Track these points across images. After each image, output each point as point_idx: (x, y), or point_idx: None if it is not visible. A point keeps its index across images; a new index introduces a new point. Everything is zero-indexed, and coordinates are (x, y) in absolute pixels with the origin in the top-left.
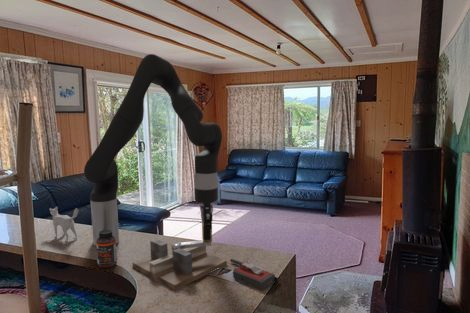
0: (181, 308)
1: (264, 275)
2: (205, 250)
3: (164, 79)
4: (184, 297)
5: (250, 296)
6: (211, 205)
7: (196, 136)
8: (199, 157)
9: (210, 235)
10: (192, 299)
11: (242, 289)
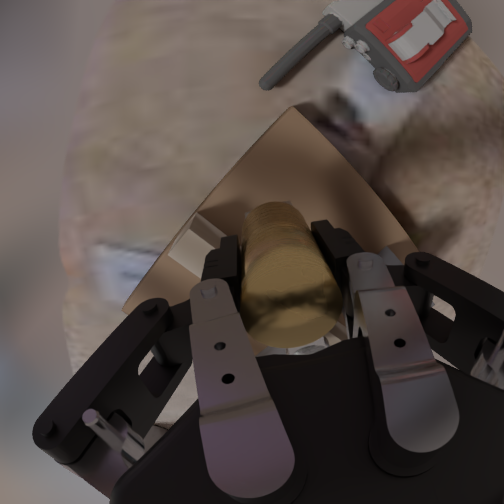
0: (490, 244)
1: (447, 5)
2: (197, 218)
3: None
4: (463, 244)
5: (483, 74)
6: (290, 485)
7: None
8: None
9: (334, 230)
10: (475, 224)
11: (458, 83)
